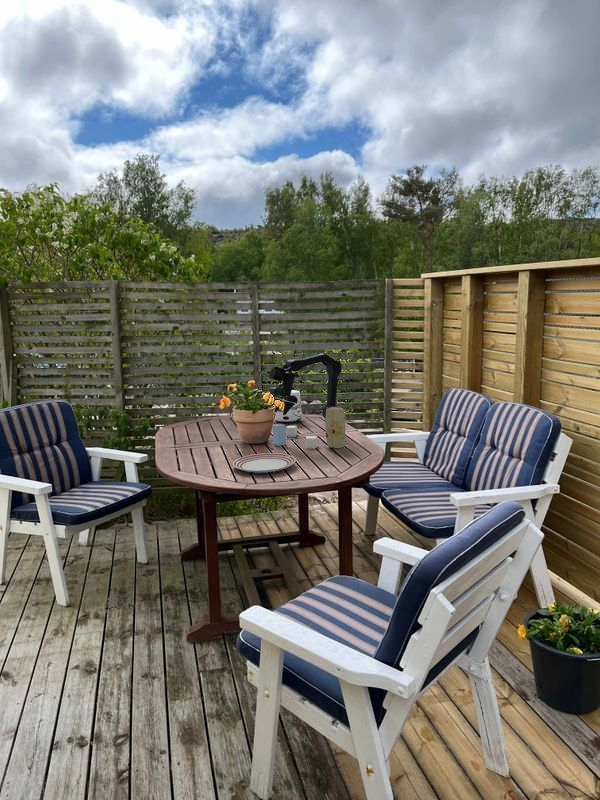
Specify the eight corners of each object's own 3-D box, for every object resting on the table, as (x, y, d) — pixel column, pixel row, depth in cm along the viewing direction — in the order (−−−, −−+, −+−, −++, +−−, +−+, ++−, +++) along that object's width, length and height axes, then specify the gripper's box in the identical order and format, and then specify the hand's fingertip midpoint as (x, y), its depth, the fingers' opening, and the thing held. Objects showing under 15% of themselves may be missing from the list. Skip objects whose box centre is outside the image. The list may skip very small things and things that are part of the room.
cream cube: (317, 446, 291) (317, 436, 290) (315, 448, 286) (315, 438, 285) (307, 445, 292) (307, 436, 291) (305, 448, 287) (305, 438, 286)
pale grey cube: (297, 434, 317) (297, 425, 316) (295, 436, 312) (295, 427, 311) (288, 434, 318) (287, 425, 317) (286, 436, 313) (285, 427, 312)
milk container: (304, 423, 345) (303, 393, 342) (275, 425, 343) (274, 394, 340) (300, 418, 362) (299, 389, 359) (272, 419, 360) (271, 390, 357)
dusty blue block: (280, 442, 299) (280, 423, 298) (285, 444, 296) (285, 424, 294) (273, 444, 297) (272, 424, 295) (278, 445, 293) (277, 426, 291)
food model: (344, 445, 290) (343, 405, 287) (346, 448, 284) (346, 408, 281) (324, 446, 289) (324, 406, 286) (327, 449, 283) (326, 408, 279)
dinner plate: (239, 480, 238) (238, 472, 238) (228, 463, 264) (227, 455, 264) (303, 473, 246) (303, 465, 245) (286, 457, 272) (286, 450, 271)
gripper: (265, 378, 302) (257, 407, 302) (283, 382, 286) (274, 412, 286) (283, 383, 308) (276, 412, 307) (301, 387, 292) (293, 417, 292)
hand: (279, 413), depth 298 cm, fingers open, 9 cm apart
